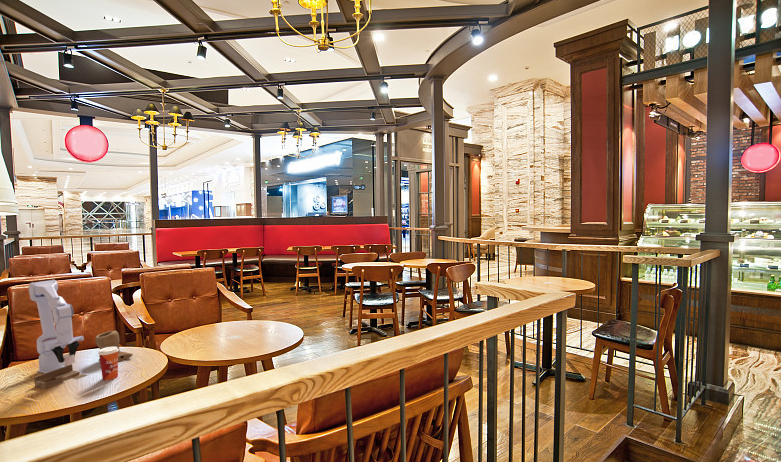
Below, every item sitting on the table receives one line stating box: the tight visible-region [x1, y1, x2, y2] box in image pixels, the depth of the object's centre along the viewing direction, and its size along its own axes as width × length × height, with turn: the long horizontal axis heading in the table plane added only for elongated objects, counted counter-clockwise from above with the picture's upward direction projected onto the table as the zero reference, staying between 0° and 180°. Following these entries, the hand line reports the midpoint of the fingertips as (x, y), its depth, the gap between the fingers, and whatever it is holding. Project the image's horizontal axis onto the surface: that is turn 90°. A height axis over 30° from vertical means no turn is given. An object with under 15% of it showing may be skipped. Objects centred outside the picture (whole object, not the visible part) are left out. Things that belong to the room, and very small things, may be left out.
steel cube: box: [59, 352, 76, 366], centre depth 179 cm, size 4×4×4 cm
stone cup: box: [94, 330, 134, 362], centre depth 200 cm, size 15×12×15 cm
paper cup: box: [97, 347, 120, 381], centre depth 178 cm, size 8×8×14 cm
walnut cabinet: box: [33, 364, 88, 390], centre depth 176 cm, size 10×15×5 cm
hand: (66, 360), depth 179 cm, fingers closed on steel cube, 4 cm apart
